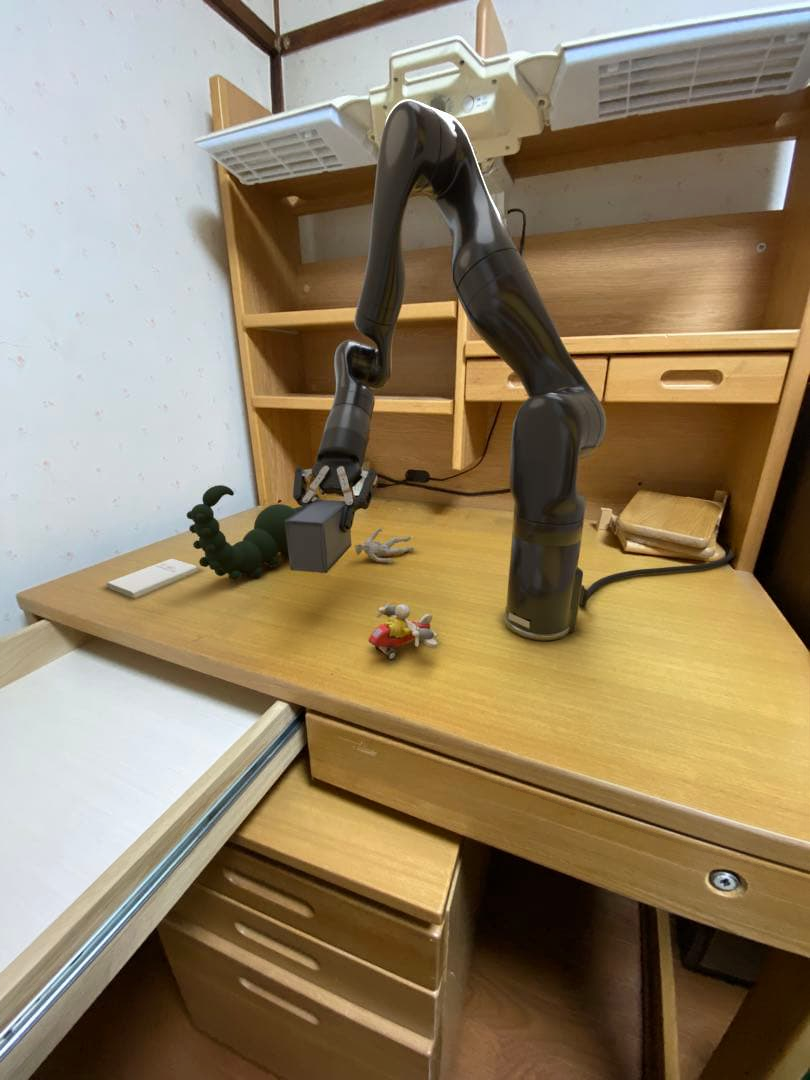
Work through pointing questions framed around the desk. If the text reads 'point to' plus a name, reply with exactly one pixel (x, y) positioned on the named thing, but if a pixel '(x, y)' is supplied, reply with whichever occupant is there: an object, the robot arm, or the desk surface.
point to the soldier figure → (382, 548)
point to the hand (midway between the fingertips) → (324, 528)
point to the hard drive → (152, 578)
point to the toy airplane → (401, 630)
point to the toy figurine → (255, 544)
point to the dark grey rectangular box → (316, 536)
